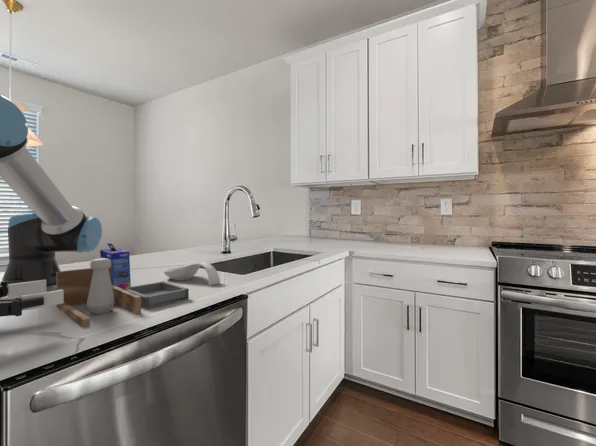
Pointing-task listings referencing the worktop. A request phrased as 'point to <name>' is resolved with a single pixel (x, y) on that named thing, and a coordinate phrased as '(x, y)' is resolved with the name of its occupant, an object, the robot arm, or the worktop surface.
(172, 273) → the spoon rest
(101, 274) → the salt shaker
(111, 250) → the ink cartridge box
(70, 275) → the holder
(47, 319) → the worktop surface
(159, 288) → the tray
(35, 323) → the worktop surface
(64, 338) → the worktop surface
